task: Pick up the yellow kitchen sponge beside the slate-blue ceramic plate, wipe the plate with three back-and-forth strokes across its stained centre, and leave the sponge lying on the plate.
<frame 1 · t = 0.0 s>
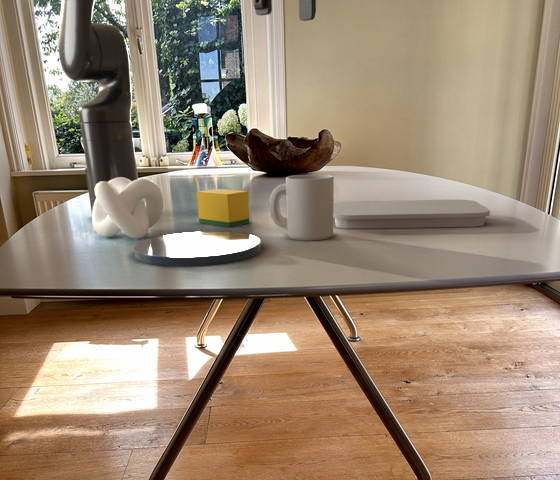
hand: (286, 17, 78), 29 cm above the table, tool pointing down, fingers open, 8 cm apart
sponge: (224, 223, 108), on the table
grey flat slab: (405, 221, 105), on the table
cup: (301, 237, 94), on the table
white knot sculpture: (127, 237, 98), on the table
plate: (198, 251, 85), on the table
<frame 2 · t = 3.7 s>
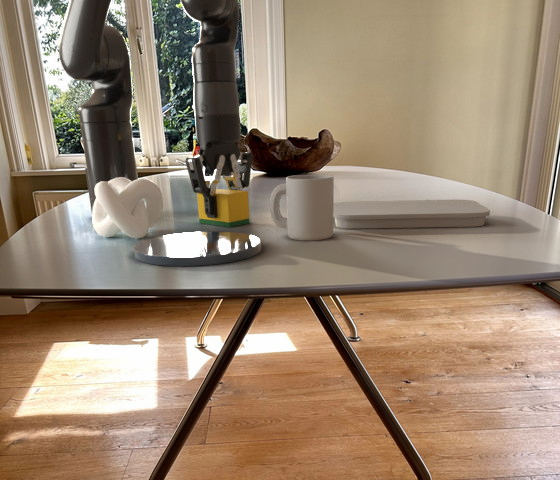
hand: (223, 215, 107), 1 cm above the table, tool pointing down, fingers closed on sponge, 5 cm apart
sponge: (224, 223, 108), on the table, touching gripper
everything else where it was.
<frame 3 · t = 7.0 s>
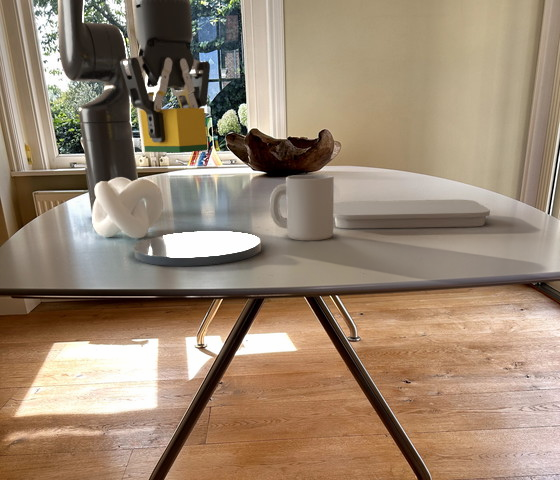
hand: (174, 140, 85), 15 cm above the table, tool pointing down, fingers closed on sponge, 5 cm apart
sponge: (175, 151, 85), point 13 cm above the table, touching gripper
everything else where it was.
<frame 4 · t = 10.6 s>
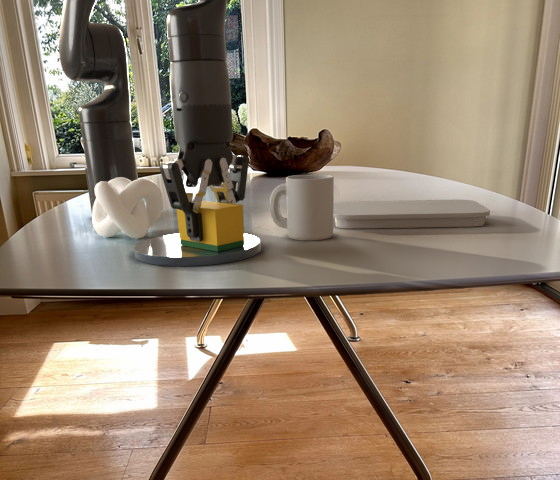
hand: (211, 236, 82), 2 cm above the table, tool pointing down, fingers closed on sponge, 5 cm apart
sponge: (212, 245, 83), point 1 cm above the table, touching gripper
everything else where it was.
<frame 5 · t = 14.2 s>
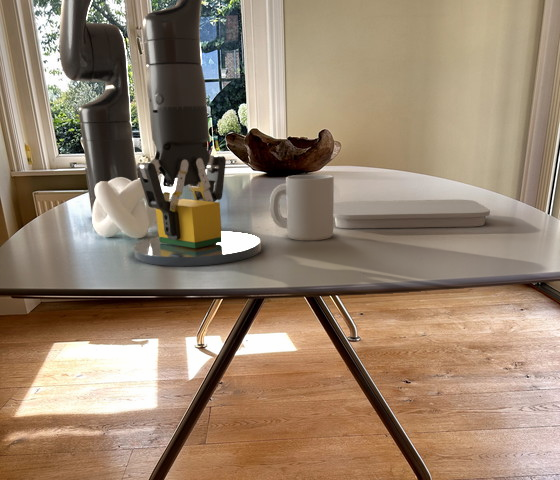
hand: (189, 235, 85), 2 cm above the table, tool pointing down, fingers closed on sponge, 5 cm apart
sponge: (190, 242, 85), point 1 cm above the table, touching gripper
everything else where it was.
when the fingers open (2 cm above the table, at t = 17.4 s): sponge stays where it is, resting on plate.
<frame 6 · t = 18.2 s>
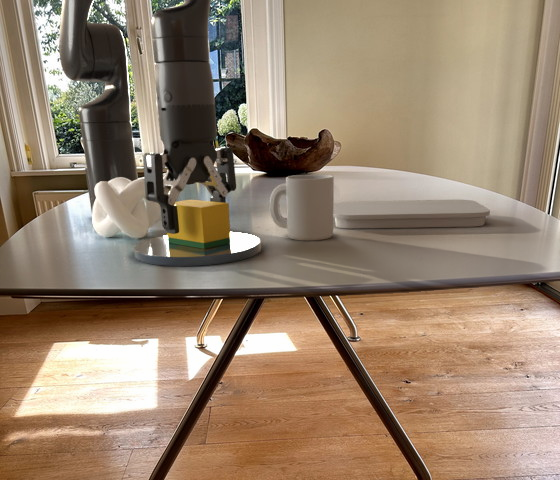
hand: (196, 228, 84), 3 cm above the table, tool pointing down, fingers open, 8 cm apart
sponge: (199, 242, 85), point 1 cm above the table, touching plate
everything else where it was.
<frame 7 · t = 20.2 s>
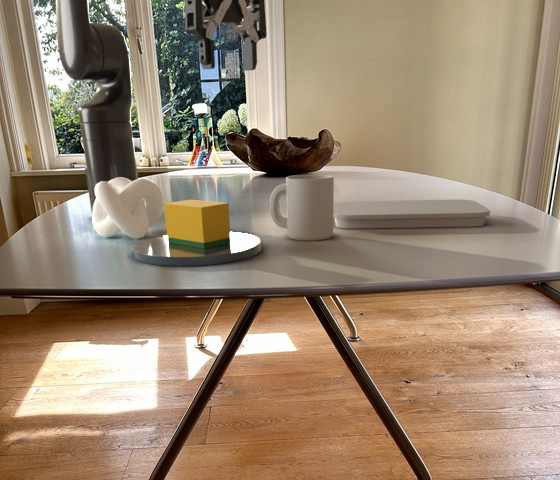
hand: (229, 69, 92), 24 cm above the table, tool pointing down, fingers open, 8 cm apart
nothing on the table moved.
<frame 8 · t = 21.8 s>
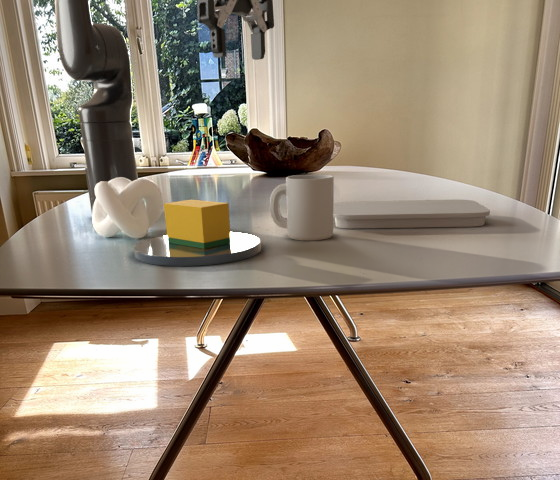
hand: (239, 58, 95), 26 cm above the table, tool pointing down, fingers open, 8 cm apart
nothing on the table moved.
at the end: sponge moved 24.2 cm from its start; sponge inside the target area on the plate (0.1 cm from its centre), point 1.2 cm above the plate's base; the gripper is holding nothing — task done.
